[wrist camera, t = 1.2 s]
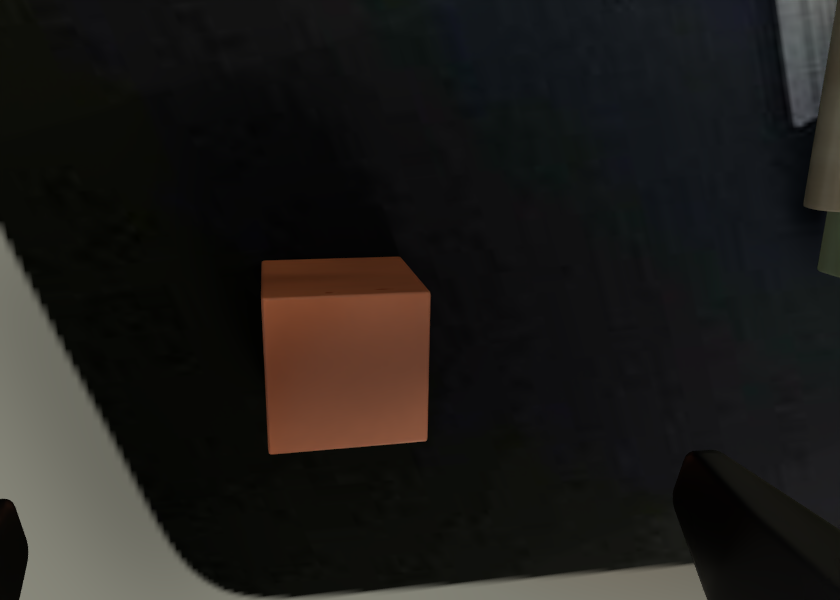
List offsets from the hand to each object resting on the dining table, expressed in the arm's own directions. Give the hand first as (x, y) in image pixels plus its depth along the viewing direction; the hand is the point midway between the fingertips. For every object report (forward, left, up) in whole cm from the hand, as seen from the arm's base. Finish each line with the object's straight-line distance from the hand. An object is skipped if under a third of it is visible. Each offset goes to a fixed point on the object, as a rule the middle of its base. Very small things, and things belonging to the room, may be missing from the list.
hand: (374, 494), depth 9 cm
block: (-1, -1, -12) cm, 12 cm away
